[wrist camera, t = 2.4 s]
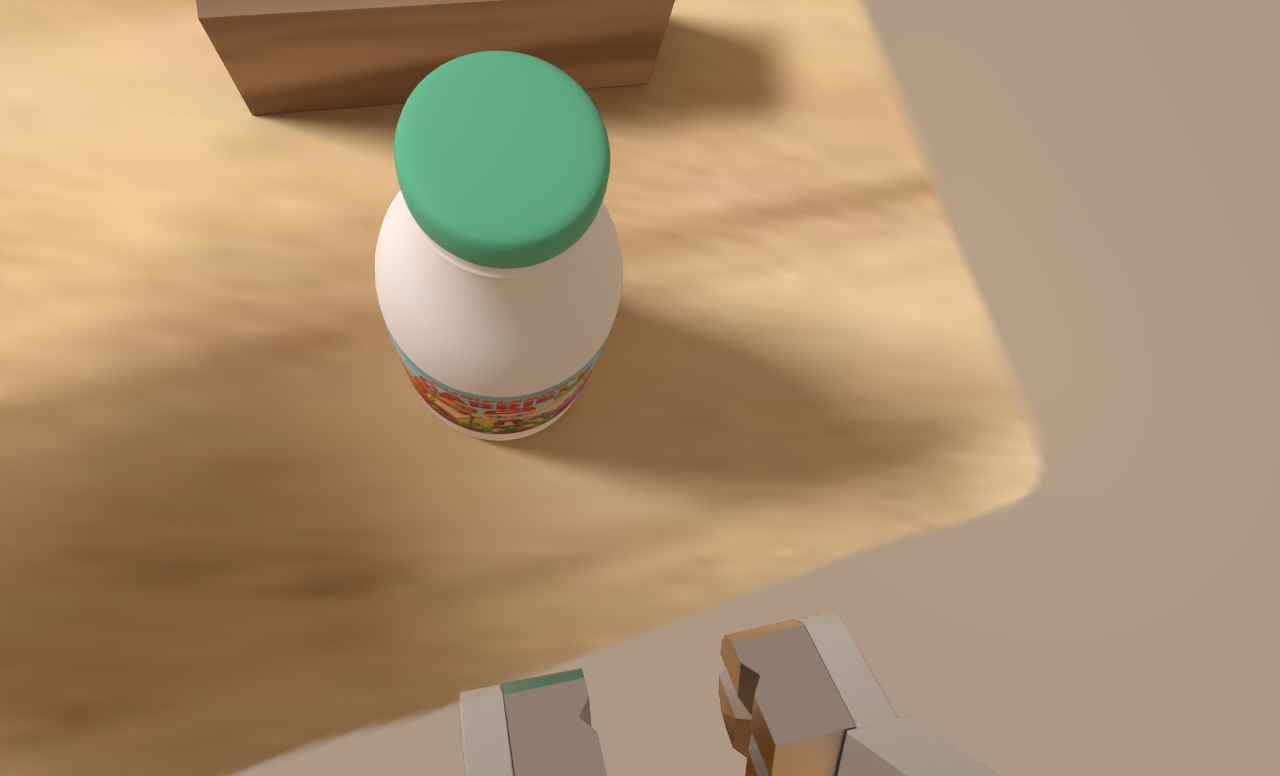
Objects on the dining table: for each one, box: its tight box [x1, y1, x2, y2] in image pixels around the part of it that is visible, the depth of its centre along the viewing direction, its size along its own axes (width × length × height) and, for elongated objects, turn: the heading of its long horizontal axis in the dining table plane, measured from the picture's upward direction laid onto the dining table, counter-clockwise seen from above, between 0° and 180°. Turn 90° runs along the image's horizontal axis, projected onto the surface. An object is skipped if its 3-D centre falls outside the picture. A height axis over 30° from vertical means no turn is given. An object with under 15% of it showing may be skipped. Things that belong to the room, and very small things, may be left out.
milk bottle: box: [375, 51, 623, 441], centre depth 27 cm, size 8×8×20 cm
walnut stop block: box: [196, 0, 675, 115], centre depth 36 cm, size 4×18×7 cm, turn 101°
